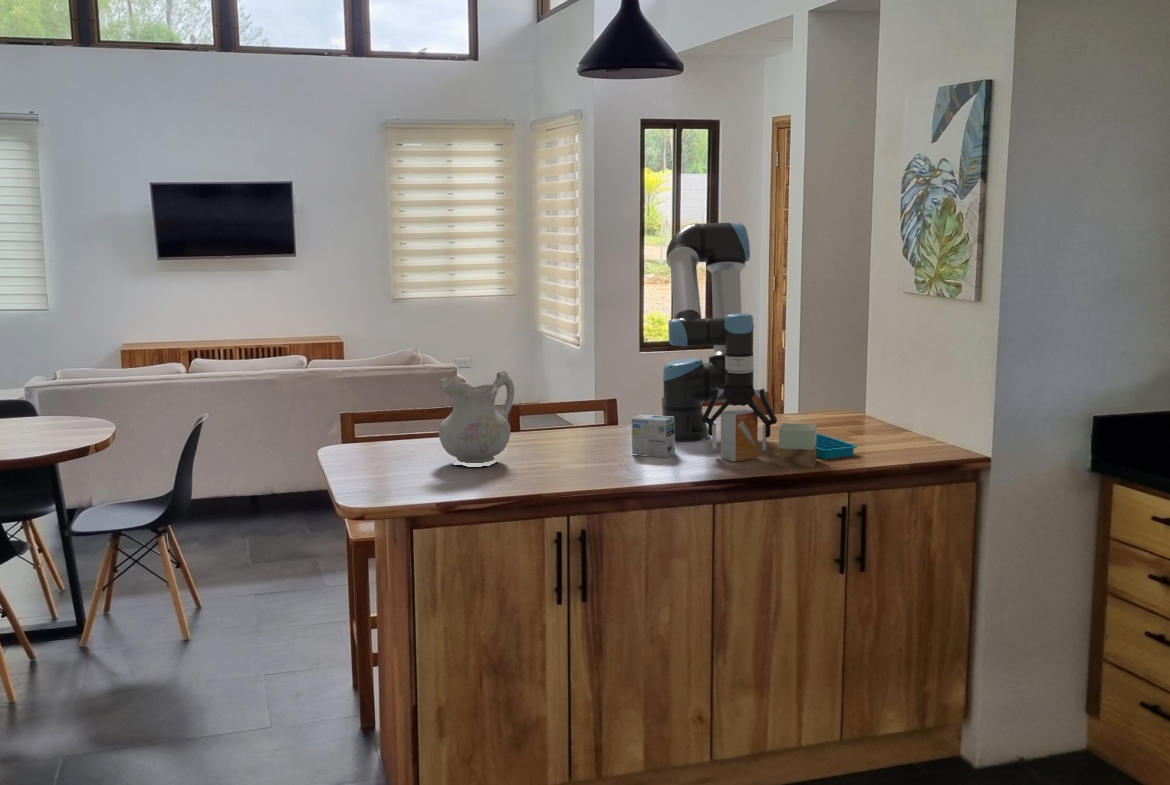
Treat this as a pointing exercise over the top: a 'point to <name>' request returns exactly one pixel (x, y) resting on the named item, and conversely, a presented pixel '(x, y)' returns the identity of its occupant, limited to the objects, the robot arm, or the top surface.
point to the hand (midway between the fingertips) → (739, 448)
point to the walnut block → (797, 457)
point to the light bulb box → (653, 435)
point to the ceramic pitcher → (476, 420)
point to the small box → (739, 435)
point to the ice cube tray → (832, 447)
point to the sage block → (797, 436)
